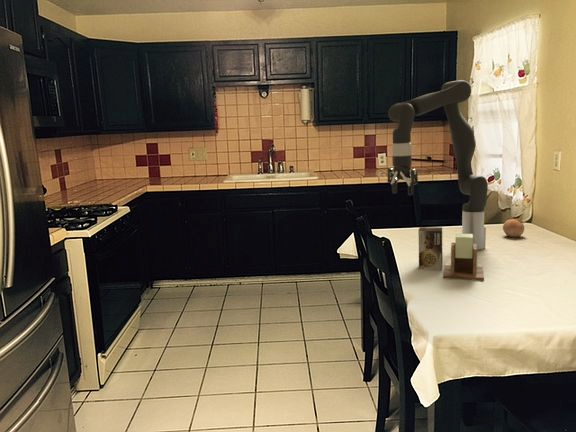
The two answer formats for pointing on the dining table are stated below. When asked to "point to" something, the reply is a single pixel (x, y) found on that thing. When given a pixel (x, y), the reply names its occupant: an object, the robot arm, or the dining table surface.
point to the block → (464, 246)
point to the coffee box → (430, 248)
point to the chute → (463, 267)
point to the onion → (513, 228)
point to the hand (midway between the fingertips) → (402, 194)
